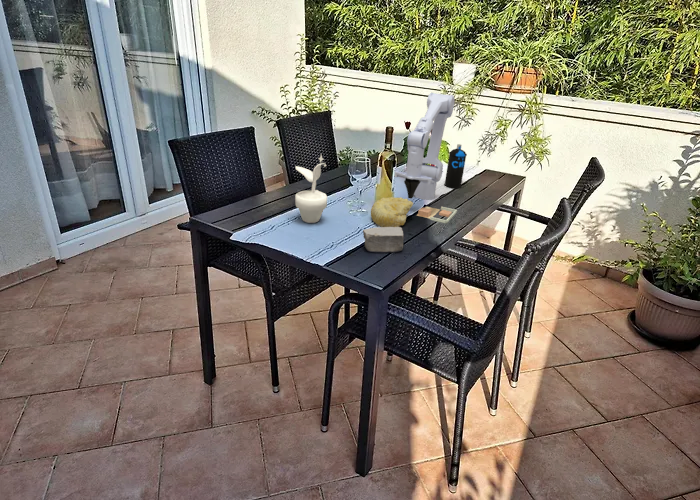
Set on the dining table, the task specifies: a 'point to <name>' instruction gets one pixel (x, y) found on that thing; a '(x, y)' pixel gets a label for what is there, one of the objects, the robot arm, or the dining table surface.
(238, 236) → the dining table surface
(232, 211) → the dining table surface
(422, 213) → the tile
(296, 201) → the potted plant
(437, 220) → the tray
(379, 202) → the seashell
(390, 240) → the decorative stone
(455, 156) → the aerosol can
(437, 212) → the board
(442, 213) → the tile
